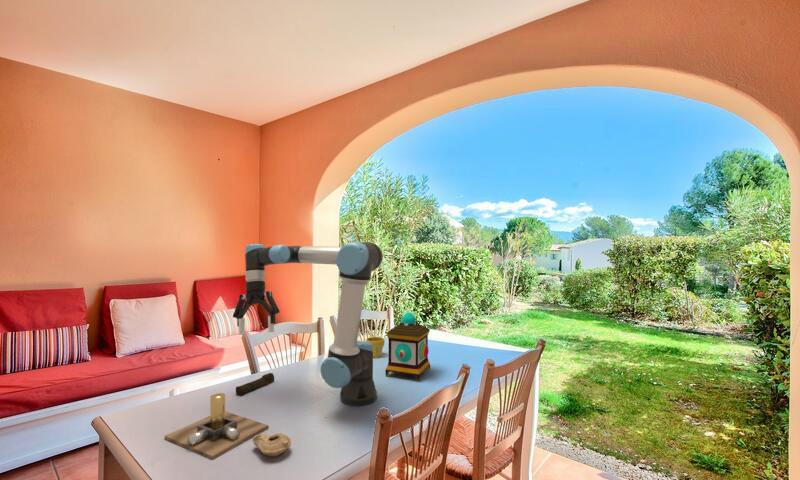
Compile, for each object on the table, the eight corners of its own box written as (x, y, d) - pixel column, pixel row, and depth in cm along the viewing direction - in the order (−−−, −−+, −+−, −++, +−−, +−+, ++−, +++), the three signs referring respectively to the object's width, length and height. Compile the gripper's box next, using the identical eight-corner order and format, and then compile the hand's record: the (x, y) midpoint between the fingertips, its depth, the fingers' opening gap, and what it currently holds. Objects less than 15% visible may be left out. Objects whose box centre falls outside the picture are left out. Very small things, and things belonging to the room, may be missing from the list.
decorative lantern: (381, 377, 176) (381, 314, 177) (397, 364, 195) (397, 307, 195) (421, 383, 169) (421, 317, 169) (433, 370, 187) (434, 310, 187)
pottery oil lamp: (263, 439, 119) (274, 418, 120) (286, 463, 113) (298, 441, 114) (242, 442, 111) (255, 420, 112) (266, 468, 105) (279, 444, 106)
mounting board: (268, 428, 127) (268, 425, 127) (212, 459, 108) (212, 456, 108) (222, 412, 138) (222, 410, 138) (164, 439, 119) (164, 435, 119)
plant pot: (383, 359, 204) (383, 341, 204) (365, 358, 204) (365, 341, 204) (384, 353, 214) (384, 336, 215) (367, 353, 215) (367, 336, 215)
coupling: (227, 431, 123) (228, 394, 123) (215, 437, 119) (216, 399, 119) (219, 427, 125) (219, 392, 125) (206, 433, 121) (207, 396, 121)
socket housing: (247, 433, 121) (247, 424, 121) (209, 454, 109) (209, 443, 109) (220, 424, 127) (220, 415, 127) (182, 442, 116) (182, 432, 116)
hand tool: (240, 397, 153) (240, 386, 153) (234, 395, 155) (235, 383, 155) (277, 383, 169) (278, 372, 169) (272, 381, 171) (272, 371, 171)
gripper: (287, 278, 155) (288, 330, 151) (235, 284, 161) (235, 334, 157) (277, 277, 148) (278, 331, 144) (223, 284, 153) (223, 336, 149)
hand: (256, 333), depth 150 cm, fingers open, 13 cm apart
